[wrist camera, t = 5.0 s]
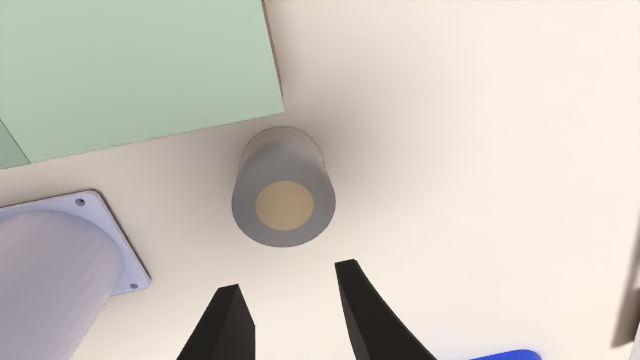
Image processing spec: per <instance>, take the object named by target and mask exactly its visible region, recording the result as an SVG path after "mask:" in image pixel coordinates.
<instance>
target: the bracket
mask: <svg viewBox="0 0 640 360" xmlns="http://www.w3.org/2000/svg"><path fill="white" fill-rule="evenodd" d="M471 360H541V358H540V357H539V356H538V355H537V354H536V353H535V352H533V351H530V350H514V351H509V352H504V353H499V354H495V355H490V356H485V357H481V358H476V359H471Z"/></svg>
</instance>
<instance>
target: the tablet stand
mask: <svg viewBox="0 0 640 360" xmlns="http://www.w3.org/2000/svg"><path fill="white" fill-rule="evenodd" d="M629 360H640V323H639V326H638V329H637V333H636V336H635V340H634V343H633V347H632V350H631V354H630V357H629Z"/></svg>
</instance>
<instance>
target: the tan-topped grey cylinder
mask: <svg viewBox="0 0 640 360" xmlns="http://www.w3.org/2000/svg"><path fill="white" fill-rule="evenodd" d="M335 205H336V199H335V193H334V189H333V187H332V184H331V181H330V178H329V176H328V173H327V170H326V167H325V165H324V162H323V159H322V156H321V154H320V151H319V148H318V147H317V145H316V143H315V142H314V141H313V140H312V139H311V138H310V137H309V136H308V135H307V134H305V133H304V132H302V131H300V130H298V129H295V128H291V127H273V128H269V129H266V130H264V131H262V132H260V133H258V134H257V135H256V136H254V137H253V138H252V139H251V140H250V142H249V143H248V144H247V146H246V148H245V150H244V153H243V157H242V161H241V164H240V168H239V172H238V176H237V180H236V184H235V188H234V192H233V196H232V213H233V216H234V219H235V221H236V223H237V225H238V226H239V228H240V229H241V230H242V231H243V232H244V233H245V234H246V235H247V236H248V237H250V238H251V239H253V240H255V241H257V242H259V243H261V244H264V245H267V246H272V247H292V246H297V245H301V244H303V243H306V242H308V241H310V240H312V239H314V238H315V237H317V236H318V235H319V234H320V233H322V232H323V231H324V229H325V228H326V227H327V226H328V224H329V223H330V221H331V219H332V217H333V214H334V211H335Z"/></svg>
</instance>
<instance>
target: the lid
mask: <svg viewBox="0 0 640 360" xmlns="http://www.w3.org/2000/svg"><path fill="white" fill-rule="evenodd" d="M284 112H285V109H284V104H283V100H282V95H281V91H280V86H279V81H278V77H277V72H276V68H275V63H274V58H273V54H272V49H271V45H270V40H269V35H268V31H267V26H266V22H265V17H264V12H263V8H262V3H261V0H0V169H1V170H3V169H8V168H13V167H17V166H22V165H27V164H31V163H36V162H41V161H46V160H50V159H55V158H60V157H65V156H70V155H75V154H80V153H85V152H90V151H95V150H100V149H105V148H110V147H115V146H120V145H125V144H130V143H135V142H140V141H145V140H150V139H155V138H160V137H165V136H170V135H175V134H180V133H185V132H189V131H194V130H199V129H204V128H209V127H214V126H219V125H224V124H229V123H234V122H239V121H244V120H249V119H254V118H259V117H264V116H269V115H274V114H279V113H284Z"/></svg>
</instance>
